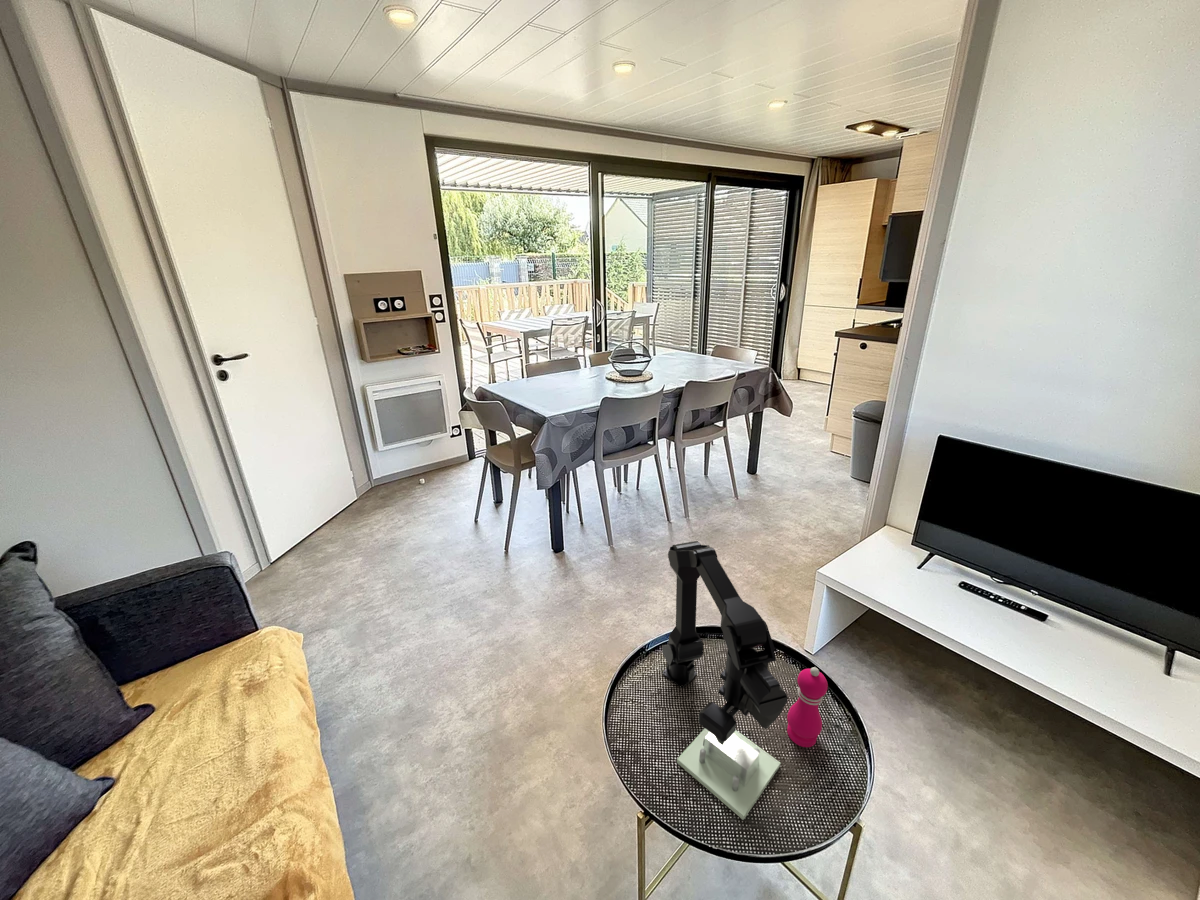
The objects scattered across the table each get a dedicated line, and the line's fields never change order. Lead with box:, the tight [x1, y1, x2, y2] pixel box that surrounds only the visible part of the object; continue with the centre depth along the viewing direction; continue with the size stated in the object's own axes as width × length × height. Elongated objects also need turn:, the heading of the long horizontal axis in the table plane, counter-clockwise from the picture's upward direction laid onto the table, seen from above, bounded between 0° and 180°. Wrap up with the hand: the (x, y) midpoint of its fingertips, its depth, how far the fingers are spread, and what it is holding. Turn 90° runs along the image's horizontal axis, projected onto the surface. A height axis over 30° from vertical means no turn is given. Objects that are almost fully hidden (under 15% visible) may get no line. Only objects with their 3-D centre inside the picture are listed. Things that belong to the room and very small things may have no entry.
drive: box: [703, 732, 760, 787], centre depth 102 cm, size 10×5×5 cm, turn 44°
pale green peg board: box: [676, 728, 781, 821], centre depth 102 cm, size 16×15×4 cm
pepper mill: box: [786, 666, 829, 748], centre depth 105 cm, size 7×7×20 cm
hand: (733, 728), depth 99 cm, fingers open, 9 cm apart
